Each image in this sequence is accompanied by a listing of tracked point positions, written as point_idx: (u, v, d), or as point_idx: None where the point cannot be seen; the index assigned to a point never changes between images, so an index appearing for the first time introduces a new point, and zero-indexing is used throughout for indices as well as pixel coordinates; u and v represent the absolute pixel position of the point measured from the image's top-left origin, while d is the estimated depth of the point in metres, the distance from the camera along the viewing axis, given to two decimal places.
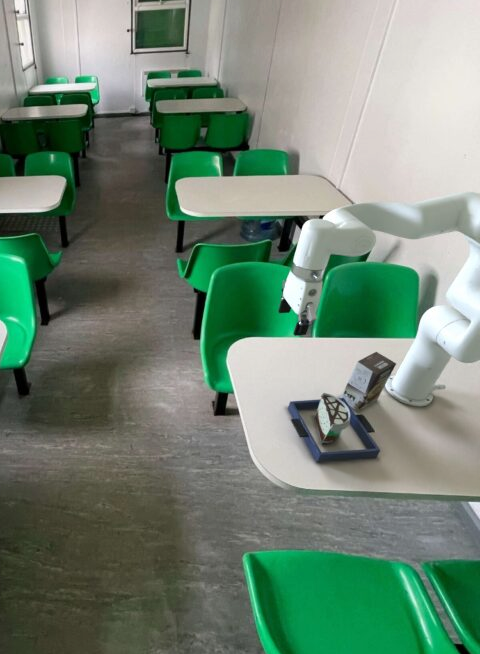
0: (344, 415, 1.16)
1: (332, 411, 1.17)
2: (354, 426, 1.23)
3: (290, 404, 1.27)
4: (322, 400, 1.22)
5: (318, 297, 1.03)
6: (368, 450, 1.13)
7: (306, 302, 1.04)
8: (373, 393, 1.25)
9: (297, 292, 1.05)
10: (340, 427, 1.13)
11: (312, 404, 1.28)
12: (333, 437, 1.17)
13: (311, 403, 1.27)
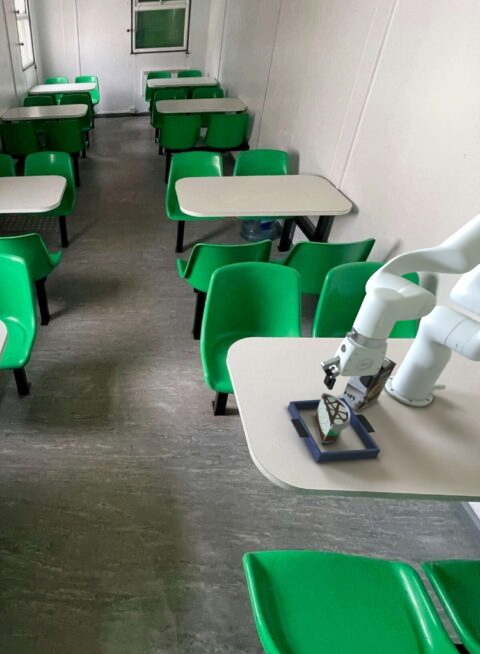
0: (344, 415, 1.16)
1: (332, 411, 1.17)
2: (354, 426, 1.23)
3: (290, 404, 1.27)
4: (322, 400, 1.22)
5: (345, 357, 1.03)
6: (368, 450, 1.13)
7: (337, 354, 1.06)
8: (373, 393, 1.25)
9: None
10: (340, 427, 1.13)
11: (312, 404, 1.28)
12: (333, 437, 1.17)
13: (311, 403, 1.27)
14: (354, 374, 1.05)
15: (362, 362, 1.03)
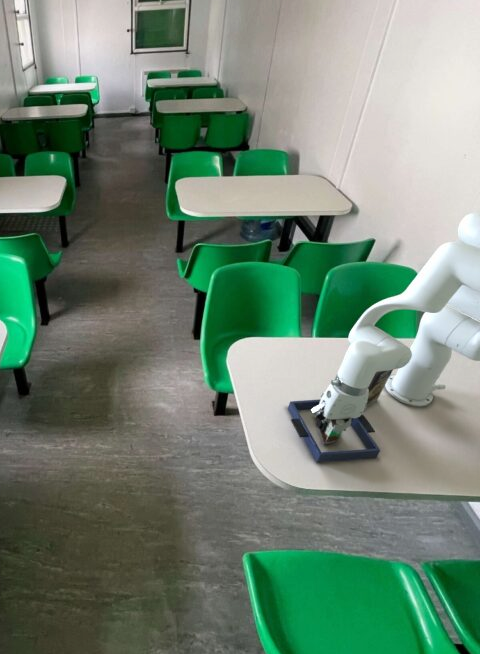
0: None
1: None
2: (354, 426, 1.23)
3: (290, 404, 1.27)
4: None
5: (330, 403, 1.12)
6: (368, 450, 1.13)
7: (323, 398, 1.15)
8: (373, 393, 1.25)
9: None
10: (342, 427, 1.13)
11: (312, 404, 1.28)
12: (335, 437, 1.17)
13: (311, 403, 1.27)
14: (339, 417, 1.14)
15: (346, 407, 1.12)
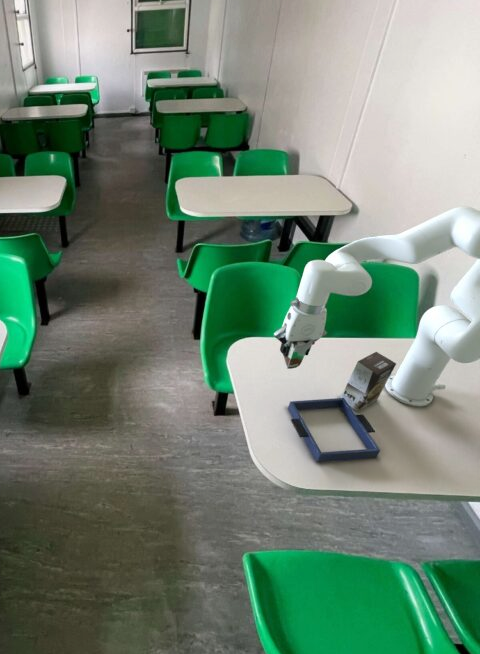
0: None
1: None
2: (354, 426, 1.23)
3: (290, 404, 1.27)
4: None
5: (290, 324, 1.16)
6: (368, 450, 1.13)
7: (285, 321, 1.19)
8: (373, 393, 1.25)
9: None
10: (303, 348, 1.18)
11: (312, 404, 1.28)
12: (297, 360, 1.22)
13: (311, 403, 1.27)
14: (299, 339, 1.19)
15: (305, 328, 1.16)
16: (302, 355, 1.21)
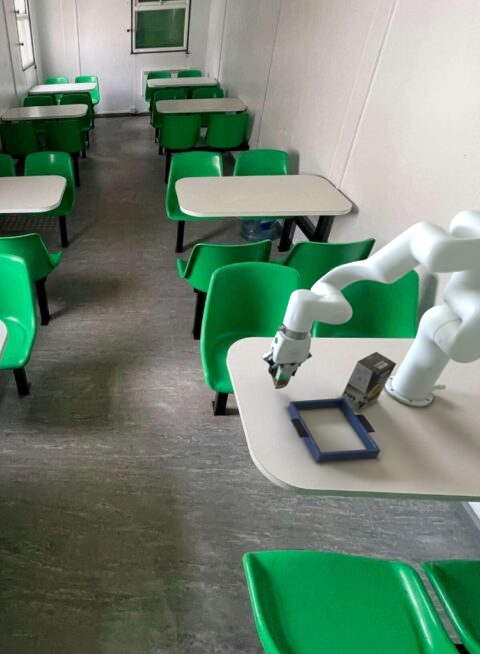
0: None
1: None
2: (354, 426, 1.23)
3: (290, 404, 1.27)
4: None
5: (277, 348, 1.24)
6: (368, 450, 1.13)
7: (272, 345, 1.27)
8: (373, 393, 1.25)
9: None
10: (289, 370, 1.25)
11: (312, 404, 1.28)
12: (284, 381, 1.29)
13: (311, 403, 1.27)
14: (286, 362, 1.26)
15: (291, 351, 1.24)
16: (288, 376, 1.28)
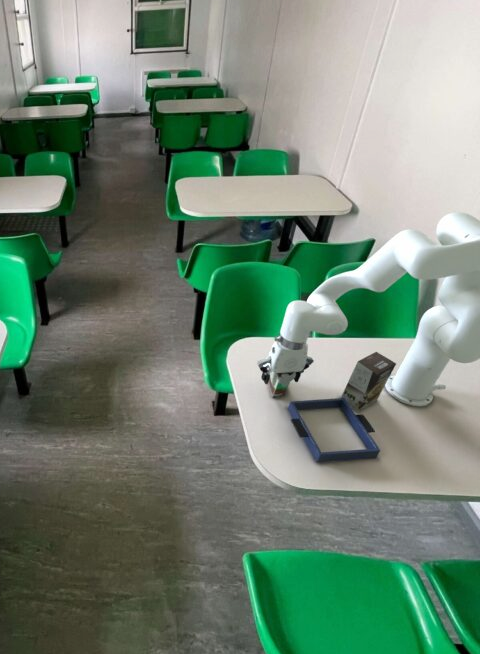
0: None
1: None
2: (354, 426, 1.23)
3: (290, 404, 1.27)
4: None
5: (274, 357, 1.26)
6: (368, 450, 1.13)
7: (270, 354, 1.29)
8: (373, 393, 1.25)
9: None
10: (286, 380, 1.27)
11: (312, 404, 1.28)
12: (282, 390, 1.31)
13: (311, 403, 1.27)
14: (283, 371, 1.28)
15: (288, 361, 1.26)
16: (286, 386, 1.31)
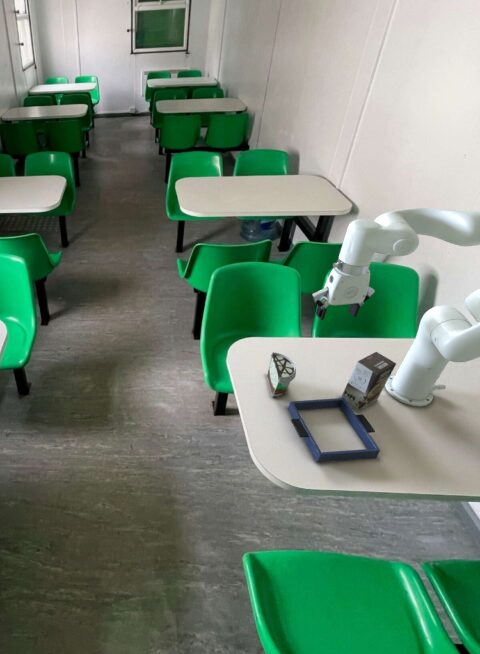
0: (290, 370, 1.30)
1: (280, 367, 1.31)
2: (354, 426, 1.23)
3: (290, 404, 1.27)
4: (272, 359, 1.36)
5: (333, 287, 1.15)
6: (368, 450, 1.13)
7: (326, 285, 1.18)
8: (373, 393, 1.25)
9: None
10: (286, 380, 1.27)
11: (312, 404, 1.28)
12: (282, 390, 1.31)
13: (311, 403, 1.27)
14: (342, 302, 1.17)
15: (348, 290, 1.15)
16: (286, 386, 1.31)
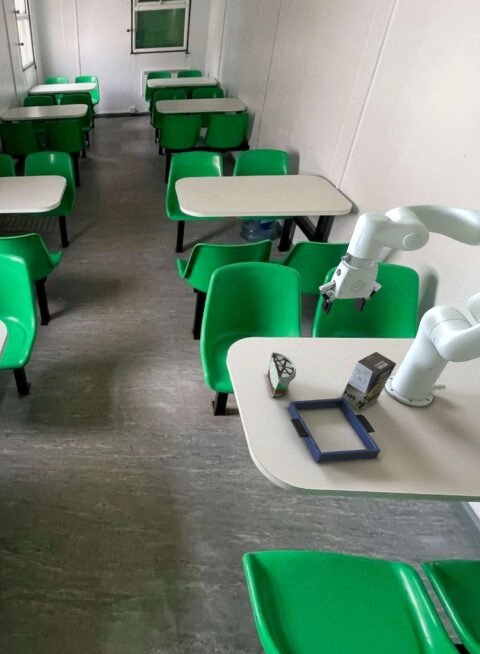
0: (290, 370, 1.30)
1: (280, 367, 1.31)
2: (354, 426, 1.23)
3: (290, 404, 1.27)
4: (272, 359, 1.36)
5: (340, 280, 1.14)
6: (368, 450, 1.13)
7: (333, 279, 1.17)
8: (373, 393, 1.25)
9: None
10: (286, 380, 1.27)
11: (312, 404, 1.28)
12: (282, 390, 1.31)
13: (311, 403, 1.27)
14: (348, 296, 1.17)
15: (355, 284, 1.14)
16: (286, 386, 1.31)
